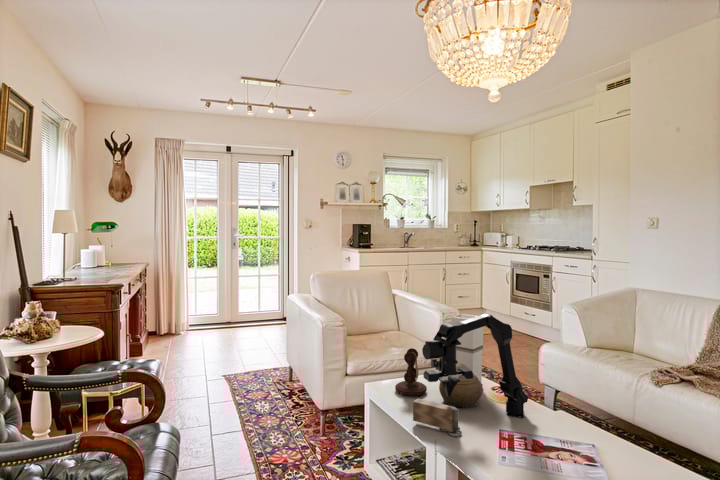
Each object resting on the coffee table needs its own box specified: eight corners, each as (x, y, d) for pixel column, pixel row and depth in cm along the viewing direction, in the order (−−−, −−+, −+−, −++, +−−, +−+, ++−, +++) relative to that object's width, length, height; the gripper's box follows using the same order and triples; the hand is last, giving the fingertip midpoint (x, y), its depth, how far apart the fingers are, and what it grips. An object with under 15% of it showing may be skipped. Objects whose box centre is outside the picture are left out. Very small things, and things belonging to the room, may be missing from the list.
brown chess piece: (424, 399, 197) (424, 355, 197) (392, 395, 201) (392, 352, 201) (428, 388, 211) (428, 347, 211) (398, 385, 216) (398, 345, 215)
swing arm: (459, 428, 164) (460, 408, 164) (456, 432, 161) (456, 412, 161) (417, 417, 174) (417, 398, 174) (413, 420, 171) (413, 401, 171)
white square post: (482, 388, 212) (483, 316, 211) (472, 394, 204) (473, 319, 203) (461, 382, 219) (462, 313, 219) (450, 388, 211) (451, 316, 211)
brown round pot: (478, 396, 201) (479, 359, 201) (485, 412, 184) (486, 372, 184) (434, 394, 203) (435, 357, 203) (437, 409, 186) (438, 369, 186)
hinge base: (462, 432, 165) (462, 430, 165) (460, 438, 160) (460, 436, 160) (449, 430, 167) (449, 428, 167) (447, 435, 162) (447, 433, 162)
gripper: (461, 349, 179) (460, 387, 179) (418, 352, 174) (418, 391, 175) (474, 357, 168) (473, 397, 168) (429, 360, 163) (429, 401, 164)
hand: (448, 396), depth 169 cm, fingers closed
